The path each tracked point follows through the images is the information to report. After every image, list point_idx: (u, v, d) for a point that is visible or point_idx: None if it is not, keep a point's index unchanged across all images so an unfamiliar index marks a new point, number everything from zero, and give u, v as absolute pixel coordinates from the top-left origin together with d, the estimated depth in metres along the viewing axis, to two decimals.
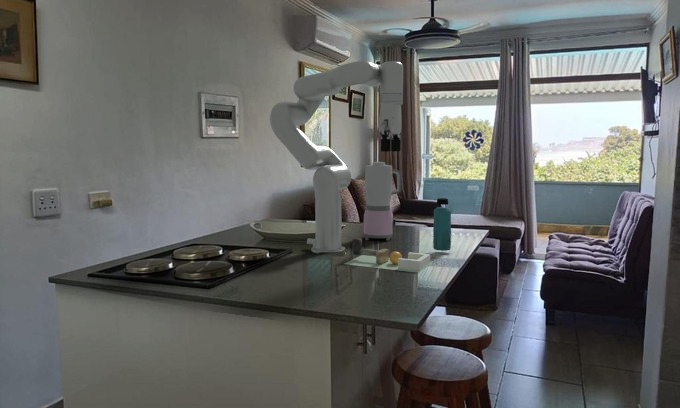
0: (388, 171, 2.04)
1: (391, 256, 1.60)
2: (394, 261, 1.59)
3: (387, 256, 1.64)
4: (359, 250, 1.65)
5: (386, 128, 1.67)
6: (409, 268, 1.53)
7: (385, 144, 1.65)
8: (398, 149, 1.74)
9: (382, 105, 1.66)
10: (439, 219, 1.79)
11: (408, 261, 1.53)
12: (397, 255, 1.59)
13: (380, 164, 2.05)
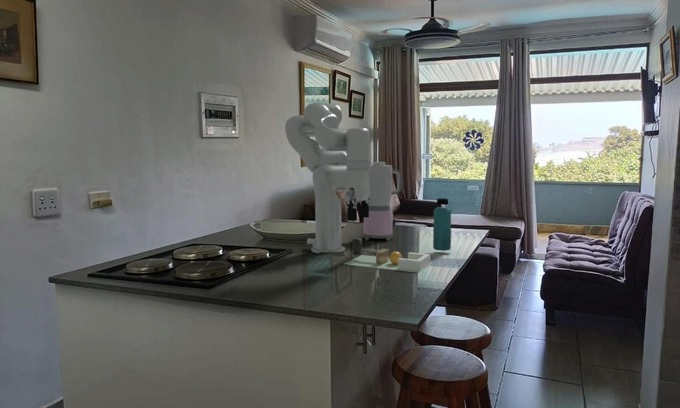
0: (388, 171, 2.04)
1: (391, 256, 1.60)
2: (394, 261, 1.59)
3: (387, 256, 1.64)
4: (359, 250, 1.65)
5: (352, 196, 1.61)
6: (409, 268, 1.53)
7: (351, 213, 1.59)
8: (366, 215, 1.68)
9: (348, 173, 1.60)
10: (439, 219, 1.79)
11: (408, 261, 1.53)
12: (397, 255, 1.59)
13: (380, 164, 2.05)
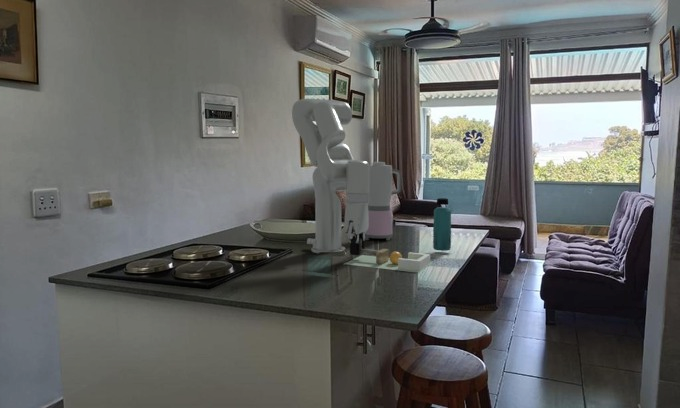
0: (388, 171, 2.04)
1: (391, 256, 1.60)
2: (394, 261, 1.59)
3: (387, 256, 1.64)
4: None
5: None
6: (409, 268, 1.53)
7: (354, 248, 1.64)
8: None
9: (347, 205, 1.62)
10: (439, 219, 1.79)
11: (408, 261, 1.53)
12: (397, 255, 1.59)
13: (380, 164, 2.05)
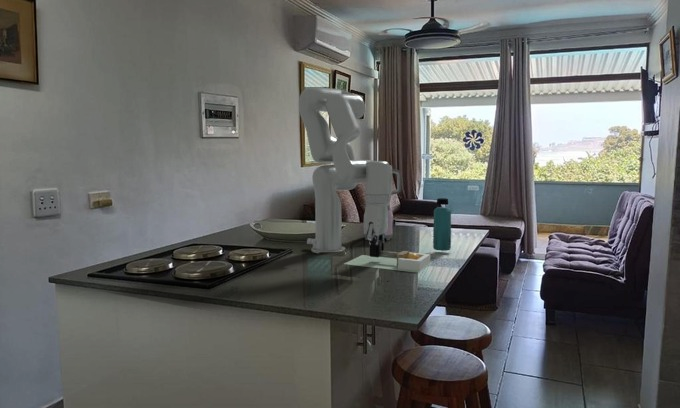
0: None
1: None
2: (409, 258, 1.57)
3: None
4: (379, 252, 1.62)
5: None
6: (409, 268, 1.53)
7: (374, 250, 1.61)
8: None
9: (367, 207, 1.59)
10: (439, 219, 1.79)
11: (408, 261, 1.53)
12: None
13: None
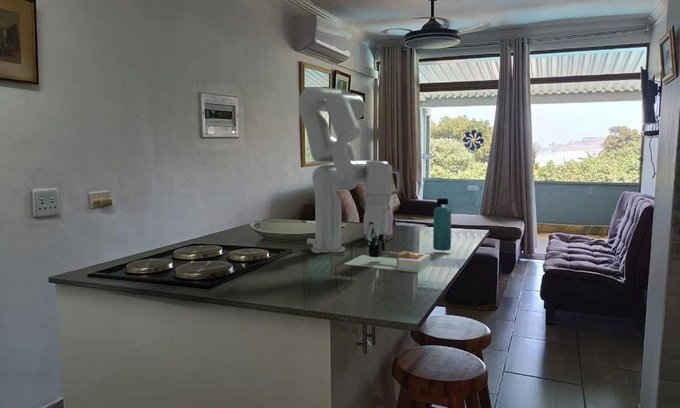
0: None
1: None
2: (411, 258, 1.57)
3: None
4: (379, 252, 1.62)
5: None
6: (409, 268, 1.53)
7: (373, 250, 1.60)
8: None
9: (367, 207, 1.59)
10: (439, 219, 1.79)
11: (408, 261, 1.53)
12: None
13: None
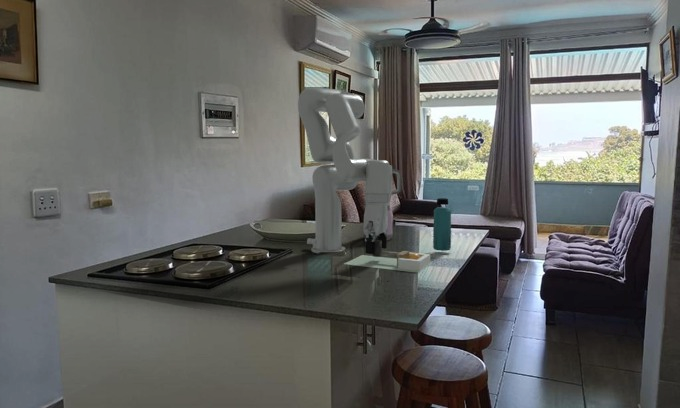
0: None
1: None
2: (411, 258, 1.57)
3: None
4: (379, 252, 1.62)
5: (371, 229, 1.60)
6: (409, 268, 1.53)
7: (370, 247, 1.58)
8: (384, 246, 1.67)
9: (367, 206, 1.59)
10: (439, 219, 1.79)
11: (408, 261, 1.53)
12: None
13: None
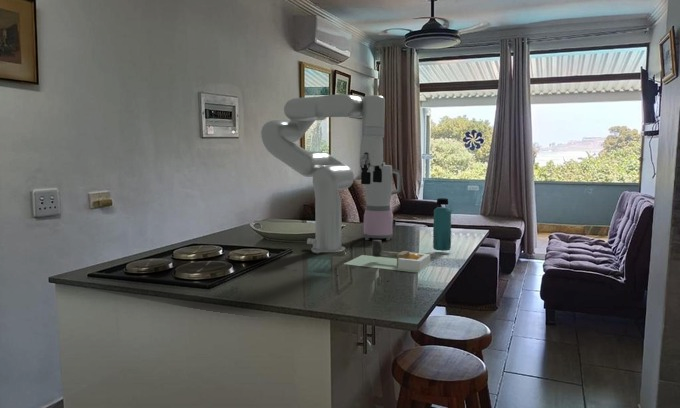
0: (388, 171, 2.04)
1: None
2: (411, 258, 1.57)
3: None
4: (379, 252, 1.62)
5: (367, 161, 1.69)
6: (409, 268, 1.53)
7: (365, 177, 1.67)
8: (379, 180, 1.76)
9: (363, 138, 1.67)
10: (439, 219, 1.79)
11: (408, 261, 1.53)
12: None
13: None
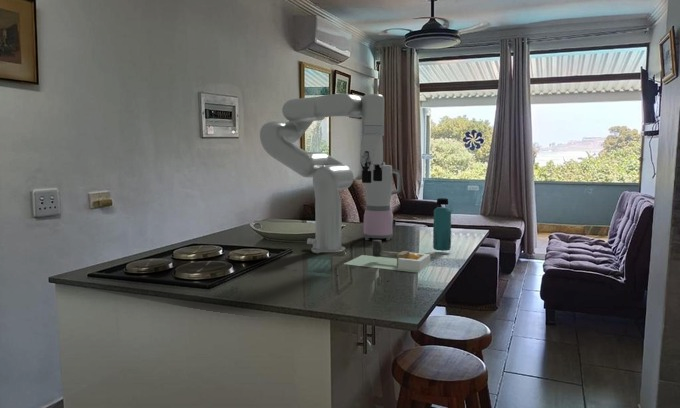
0: (388, 171, 2.04)
1: None
2: (410, 258, 1.57)
3: None
4: (379, 252, 1.62)
5: (367, 159, 1.69)
6: (409, 268, 1.53)
7: (366, 176, 1.67)
8: (380, 179, 1.76)
9: (363, 137, 1.68)
10: (439, 219, 1.79)
11: (408, 261, 1.53)
12: None
13: None
